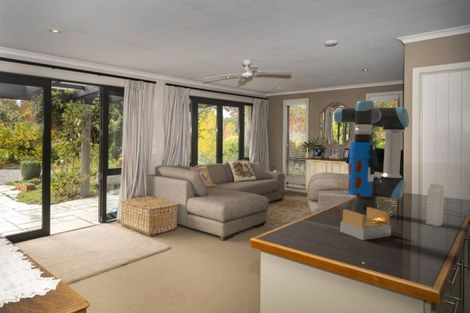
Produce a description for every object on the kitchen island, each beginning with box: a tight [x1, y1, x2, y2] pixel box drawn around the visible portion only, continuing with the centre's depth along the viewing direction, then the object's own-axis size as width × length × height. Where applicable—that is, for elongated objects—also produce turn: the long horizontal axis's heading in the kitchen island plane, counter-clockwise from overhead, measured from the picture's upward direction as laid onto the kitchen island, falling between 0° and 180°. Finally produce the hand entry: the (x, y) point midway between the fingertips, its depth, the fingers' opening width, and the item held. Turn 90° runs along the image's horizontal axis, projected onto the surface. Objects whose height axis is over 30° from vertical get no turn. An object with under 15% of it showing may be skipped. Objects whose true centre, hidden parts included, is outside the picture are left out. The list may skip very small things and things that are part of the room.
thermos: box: [347, 141, 376, 196], centre depth 150 cm, size 11×11×25 cm
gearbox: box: [339, 207, 392, 241], centre depth 150 cm, size 14×18×11 cm
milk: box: [425, 183, 445, 227], centre depth 171 cm, size 6×6×22 cm
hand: (360, 179), depth 150 cm, fingers closed on thermos, 11 cm apart
